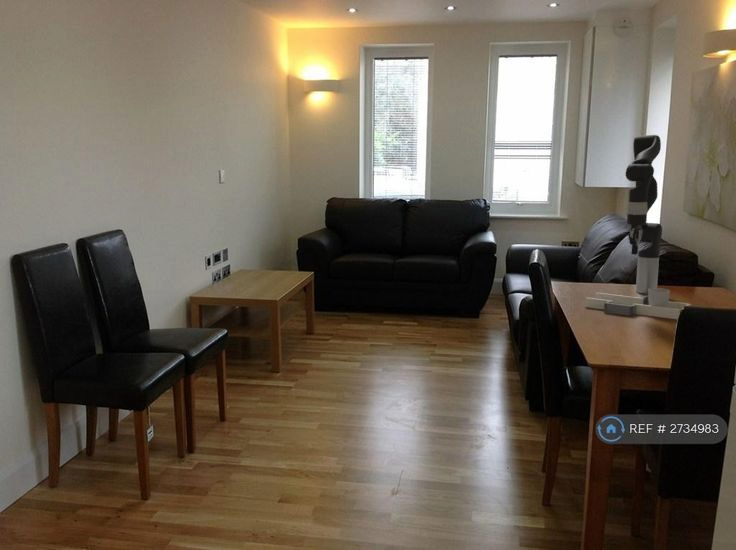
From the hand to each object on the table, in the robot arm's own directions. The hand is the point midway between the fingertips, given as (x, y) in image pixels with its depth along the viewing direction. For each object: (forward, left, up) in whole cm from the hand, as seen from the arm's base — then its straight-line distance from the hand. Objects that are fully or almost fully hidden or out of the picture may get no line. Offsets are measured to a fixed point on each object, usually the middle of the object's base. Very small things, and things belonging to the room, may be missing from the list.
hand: (634, 254), depth 270 cm
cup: (+1, +11, -24) cm, 26 cm away
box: (0, +2, -24) cm, 24 cm away
